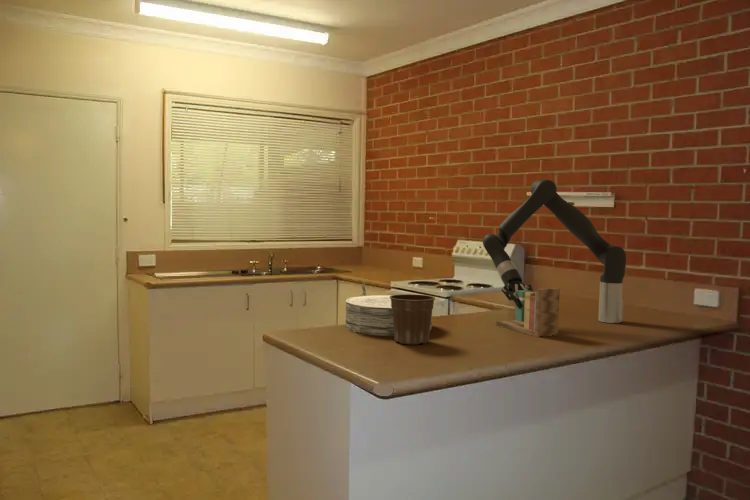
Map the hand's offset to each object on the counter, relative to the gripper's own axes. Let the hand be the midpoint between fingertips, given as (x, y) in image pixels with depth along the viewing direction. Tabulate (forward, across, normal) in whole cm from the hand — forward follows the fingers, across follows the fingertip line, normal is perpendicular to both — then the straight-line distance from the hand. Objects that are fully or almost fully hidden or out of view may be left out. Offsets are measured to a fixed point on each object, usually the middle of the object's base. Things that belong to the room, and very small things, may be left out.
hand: (526, 307), depth 247 cm
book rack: (+6, 0, +7) cm, 9 cm away
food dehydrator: (-11, -50, +25) cm, 57 cm away
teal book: (+3, 0, +5) cm, 6 cm away
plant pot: (+9, -54, +4) cm, 55 cm away
